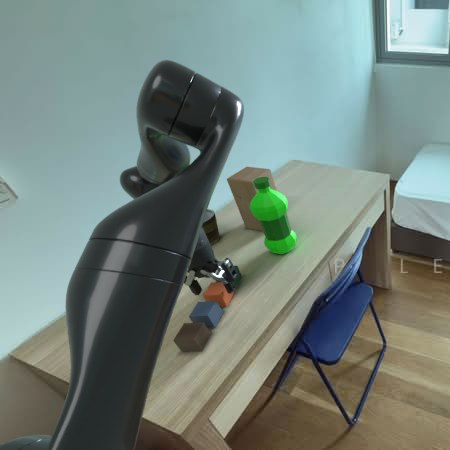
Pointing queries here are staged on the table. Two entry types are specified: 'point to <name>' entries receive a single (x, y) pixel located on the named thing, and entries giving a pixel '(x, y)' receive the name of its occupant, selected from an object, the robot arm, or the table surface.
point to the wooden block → (248, 192)
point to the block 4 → (192, 337)
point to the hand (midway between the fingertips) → (215, 292)
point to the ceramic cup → (211, 227)
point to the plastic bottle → (272, 217)
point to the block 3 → (206, 313)
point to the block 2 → (218, 294)
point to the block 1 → (238, 278)
